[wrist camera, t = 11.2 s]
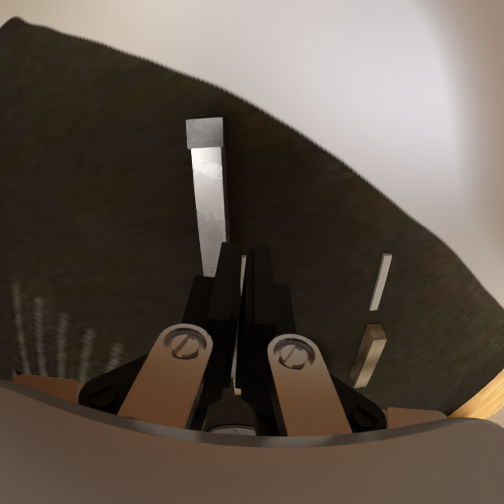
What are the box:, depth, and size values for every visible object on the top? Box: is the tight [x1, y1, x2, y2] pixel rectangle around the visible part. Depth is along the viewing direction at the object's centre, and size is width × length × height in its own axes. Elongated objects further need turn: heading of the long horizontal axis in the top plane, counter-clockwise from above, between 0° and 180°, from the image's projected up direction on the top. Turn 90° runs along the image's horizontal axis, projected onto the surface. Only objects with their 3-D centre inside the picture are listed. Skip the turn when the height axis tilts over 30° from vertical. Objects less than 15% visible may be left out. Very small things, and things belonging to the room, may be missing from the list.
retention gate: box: [186, 115, 239, 378], centre depth 26 cm, size 2×25×8 cm, turn 1°
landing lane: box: [240, 253, 392, 310], centre depth 32 cm, size 8×17×1 cm, turn 91°
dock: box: [233, 323, 387, 395], centre depth 38 cm, size 11×20×3 cm, turn 91°
